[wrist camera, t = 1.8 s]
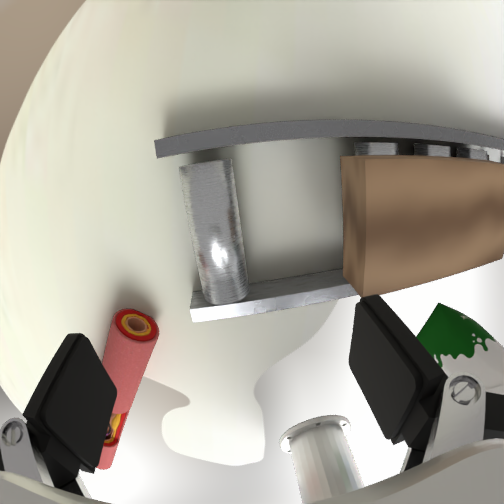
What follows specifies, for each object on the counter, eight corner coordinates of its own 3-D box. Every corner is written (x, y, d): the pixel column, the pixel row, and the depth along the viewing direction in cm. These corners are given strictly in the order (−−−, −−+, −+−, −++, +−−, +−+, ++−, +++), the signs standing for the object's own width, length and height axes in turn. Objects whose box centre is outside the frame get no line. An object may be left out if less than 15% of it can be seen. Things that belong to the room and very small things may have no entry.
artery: (113, 454, 40) (109, 473, 35) (91, 446, 38) (87, 464, 34) (163, 319, 28) (154, 350, 23) (121, 301, 27) (106, 328, 22)
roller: (247, 278, 26) (251, 300, 22) (205, 284, 26) (202, 307, 22) (231, 157, 22) (232, 159, 18) (183, 165, 21) (174, 169, 18)
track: (515, 242, 30) (535, 252, 25) (197, 308, 27) (193, 339, 23) (522, 142, 23) (544, 146, 19) (162, 134, 21) (146, 131, 16)
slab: (479, 245, 24) (502, 258, 20) (342, 275, 23) (362, 298, 19) (486, 159, 20) (512, 165, 16) (339, 156, 19) (364, 159, 15)
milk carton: (464, 307, 32) (543, 383, 14) (434, 353, 35) (497, 437, 17) (438, 295, 31) (533, 387, 12) (403, 348, 33) (475, 450, 15)
